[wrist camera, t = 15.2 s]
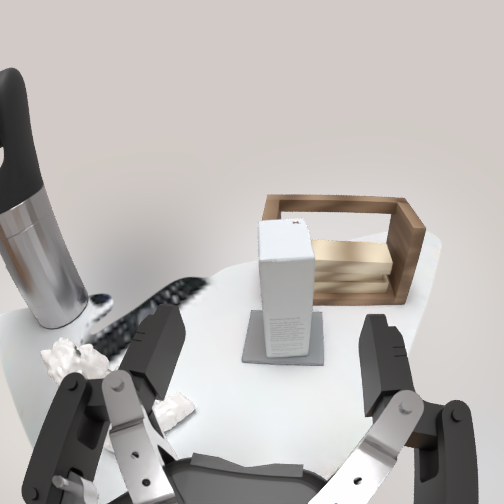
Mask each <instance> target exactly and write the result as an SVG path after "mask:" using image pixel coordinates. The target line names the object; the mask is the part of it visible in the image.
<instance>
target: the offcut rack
mask: <svg viewBox="0 0 504 504" xmlns="http://www.w3.org/2000/svg"><path fill="white" fill-rule="evenodd" d="M281 211H285V212H288V211H289V212H293V211H295V212H296V211H297V212H354V213H383V214H391V219H390V225H389V231H388V236H387V242H386V244H387V247H388V250H389V253H390V256H391V259H392V262H393V264H392V269H391V273H390V275H389V274H386V276H387V279H388V282H389V284H388V288H387V291H386V293H314V294H313V305H396V304H405V301H406V298H407V295H408V292H409V289H410V286H411V283H412V280H413V276H414V273H415V269H416V266H417V263H418V259H419V255H420V252H421V248H422V244H423V240H424V236H425V232H426V227H425V226H424V225H423V223H422V222H421V220H420V219H419V217H418V216H417V214H416V213H415V212H414V210H413V209H412V208H411V206H410V205H409V203H408V202H407V201H406V199H405V198H394V197H374V196H347V195H346V196H345V195H267V200H266V204H265V208H264V213H263V217H262V221H265V220H280V219H281Z"/></svg>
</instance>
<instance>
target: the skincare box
mask: <svg viewBox="0 0 504 504" xmlns="http://www.w3.org/2000/svg"><path fill="white" fill-rule="evenodd" d="M258 251H259V273H260V285H261V297H262V310H263V321H264V334H265V346H266V356H267V357H268V358H278V357H294V356H307V355H308V352H309V341H310V330H311V319H312V307H313V294H314V275H315V253H314V250H313V246H312V242H311V236H310V233H309V231H308V227H307V224H306V221H305V219H280V220H265V221H259V222H258Z"/></svg>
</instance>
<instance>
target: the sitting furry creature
mask: <svg viewBox="0 0 504 504" xmlns="http://www.w3.org/2000/svg"><path fill="white" fill-rule="evenodd" d="M41 356H42V359H43V361H44V363H45V365H46V366H47V367H48V368H49V369H48V376H50V377H52V378H53V379H54V380H55V382H56V384H57V385H58V387H59V386H60V384H61V381H62V380H63V378H64V377H65V376H66V375H68V374H70V373H73V372H78V373H80V374H82V375H83V376H84V377H85V378H86V379H102V378H105V376H106V375H107V374H109V373H110V372H112V371H111V370H109V369H108V366H109V360H108V359H107V357H105V356H104V355H101V354H100V353H99V352H98V351H97V350H94V349H93V346H92V345H91V344H86V345H83V346H78V345H77V344H75V343H74V342H72V341H70V340H69V339H67V338H66V339H64V338H62V337H60V338H59V340H58V341H57V342H54V344H53V347H52V350H41ZM118 368H119V366H117V367H116V369H115V370H118ZM115 370H114V371H115ZM153 407H154V410H155V412H156V415H157V417H158V419H159V422H160V424H161V427H162V429H163V431H164V432H165V431H167V430H171V429H172V427H173V426H176V424H177V423H178V422H179V421H182V420H183V419H184V418H185V417H186V416H188V415H189V414H191V413H192V411H193V410H194V409H195V405H194V404H193V403H192V402H191V401H190V400H189V399H187V398H186V397H185V395H183V394H182V393H180V392H179V393H176V394H173V395H172V396H168V397H167V398H165V399H164V401H160V402H159V403H158V404H157V403H156V402H155V401H154V404H153ZM111 429H112V426H111V423H110V426H109V429H108V432H107V436H106V439H105V442H104V445H103V447H105V448H106V449H107V450H109V451H112V452H114V450H113V447H112V444H111V441H110V437H109V430H111Z"/></svg>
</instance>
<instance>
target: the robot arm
mask: <svg viewBox="0 0 504 504" xmlns="http://www.w3.org/2000/svg"><path fill="white" fill-rule="evenodd" d="M1 147H3V148H4V161H3V163H2V166H1V167H0V254H1V256H2V258H3V260H4V262H5V264H6V268H7V270H8V271H9V273H10V275H11V277H12V279H13V281H14V283H15V285H16V286H17V288H18V290H19V291H20V293H21V295H22V297H23V298H24V300H25V302H26V303H27V305H28V307H29V308H30V310H31V312H32V313H33V315H34V316H35V317H36V318H37V320H38V321H39V323H40V324H41V325H42V326H43V327H46V328H58V327H61V326H64V325H66V324H68V323H70V322H71V321H72V320H74V319H75V318H76V317H77V316H78V315H79V314H80V313H81V312H82V311H83V309H84V308H85V306H86V304H87V301H88V293H87V291H86V289H85V287H84V285H83V283H82V281H81V278H80V276H79V274H78V272H77V270H76V268H75V265H74V263H73V261H72V258H71V256H70V254H69V251H68V249H67V247H66V245H65V242H64V240H63V237H62V235H61V232H60V229H59V227H58V224H57V221H56V219H55V216H54V213H53V211H52V207H51V205H50V202H49V199H48V196H47V193H46V190H45V186H44V183H43V180H42V177H41V173H40V168H39V164H38V159H37V155H36V150H35V146H34V142H33V136H32V130H31V124H30V116H29V107H28V100H27V93H26V88H25V83H24V80H23V78H22V76H21V74H20V72H19V71H18V70H17V69H15V68H8V69H5V70H3V71H0V148H1ZM185 335H186V331H185V326H184V323H183V320H182V317H181V314H180V311H179V308H178V306H176V305H166V304H160V305H159V306H158V308H157V310H156V312H155V314H154V315H150V314H149V315H148V316H147V317H146V318H145V319H144V320H143V321H142V322H141V323H140V325H139V327H138V329H137V331H136V333H135V335H134V337H133V341H131V344H130V346H129V348H128V350H127V352H126V354H125V356H124V358H123V360H122V362H121V364H120V367H119V368H118V370H115V371H112V372H110V373H109V374H107V375H106V376H105V378H102V379H86V378H85V377H84V376H83V375H82V374H80V373H78V372H73V373H70V374H68V375H66V376H65V377H64V378H63V380H62V381H61V384H60V386H59V388H58V390H57V392H56V395H55V397H54V399H53V402H52V404H51V406H50V409H49V411H48V413H47V416H46V418H45V421H44V423H43V426H42V429H41V431H40V434H39V436H38V439H37V442H36V445H35V447H34V450H33V453H32V456H31V459H30V462H29V465H28V468H27V472H26V475H25V478H24V481H23V485H22V497H23V499H24V501H25V503H26V504H98V502H97V500H98V499H99V495H98V493H97V489H96V487H95V485H94V484H93V480H94V476H95V473H96V469H97V466H98V462H99V459H100V455H101V452H102V449H103V445H104V442H105V439H106V436H107V432H108V429H109V426H110V423H111V426H112V429H111V430H109V437H110V441H111V444H112V447H113V450H114V453H115V456H116V459H117V462H118V465H119V468H120V471H121V473H122V476H123V479H124V481H125V484H126V487H127V489H128V491H127V492H126V493H124V494H122V495H121V496H119V497H118V498H116V499H114V500H113V501H111V502H109V503H108V504H366V503H367V502H368V500H369V499H370V498H371V497H372V495H373V494H374V493H375V492H376V490H377V489H378V488H379V486H380V485H381V484H382V482H383V481H384V480H385V478H386V477H387V475H388V474H389V473H390V471H391V470H392V468H393V467H394V465H395V463H396V461H397V456H398V454H399V453H400V451H401V449H402V448H403V446H407V447H412V448H414V459H415V460H414V463H415V464H414V465H415V478H414V504H478V469H477V455H476V445H475V438H474V430H473V423H472V417H471V411H470V409H469V407H468V406H467V405H466V403H464V402H462V401H460V400H453V401H450V402H449V403H447V404H446V405H445V406H444V405H438V404H433V403H429V402H426V401H424V400H422V398H421V397H420V396H419V395H418V394H417V393H416V392H415V389H414V386H413V381H412V376H411V371H410V366H409V362H408V357H407V353H406V349H405V344H404V340H403V336H402V335H401V333H400V332H399V331H398V329H397V328H396V326H391V327H388V324H387V320H386V316H385V315H384V314H367V315H366V318H365V321H364V325H363V328H362V331H361V334H360V338H359V357H360V366H361V376H362V386H363V398H364V412H365V417H372V418H373V425H372V426H371V427H370V429H369V430H368V432H367V433H366V434H365V436H364V437H363V438H362V440H361V441H360V442H359V444H358V445H357V446H356V447H355V449H354V450H353V451H352V452H351V454H350V455H349V456H348V457H347V459H346V460H345V461H344V462H343V463H342V464H341V465H340V467H339V468H338V469H337V470H336V471H335V472H334V473H333V475H332V476H331V477H330V478H329V479H328V480H327V481H326V480H325V479H324V478H322V477H321V476H319V475H318V474H316V473H314V472H311V471H308V470H305V469H303V465H298V464H269V465H262V466H255V467H243V466H240V465H237V464H235V463H232V462H229V461H227V460H224V459H222V458H219V457H214V456H208V455H202V454H197V453H193V455H192V458H183V459H180V460H179V459H178V457H177V455H176V453H175V451H174V450H173V448H172V447H171V445H170V444H169V442H168V440H167V438H166V436H165V434H164V431H163V429H162V427H161V424H160V422H159V419H158V417H157V415H156V412H155V410H154V407H153V404H154V401H155V399H156V400H160V401H164V398H165V395H166V392H167V389H168V386H169V383H170V381H171V378H172V375H173V372H174V369H175V366H176V363H177V360H178V358H179V355H180V352H181V349H182V346H183V344H184V341H185Z"/></svg>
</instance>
